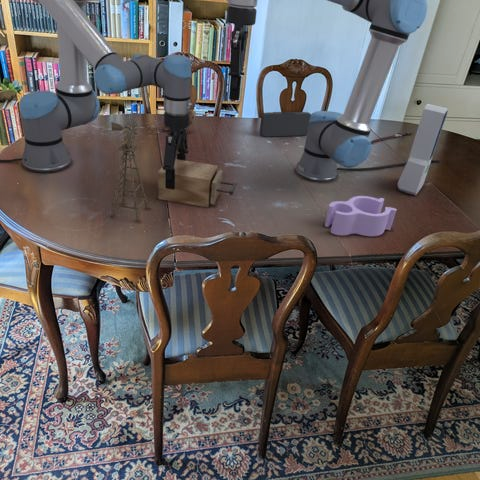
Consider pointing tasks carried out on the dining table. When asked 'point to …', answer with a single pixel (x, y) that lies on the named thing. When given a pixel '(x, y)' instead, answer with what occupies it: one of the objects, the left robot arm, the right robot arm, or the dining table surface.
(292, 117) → the handheld gaming console
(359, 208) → the clip
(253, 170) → the dining table surface
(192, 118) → the lion figurine
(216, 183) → the drawer
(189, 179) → the cabinet
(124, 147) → the miniature windmill
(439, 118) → the electronic device
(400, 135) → the sword
